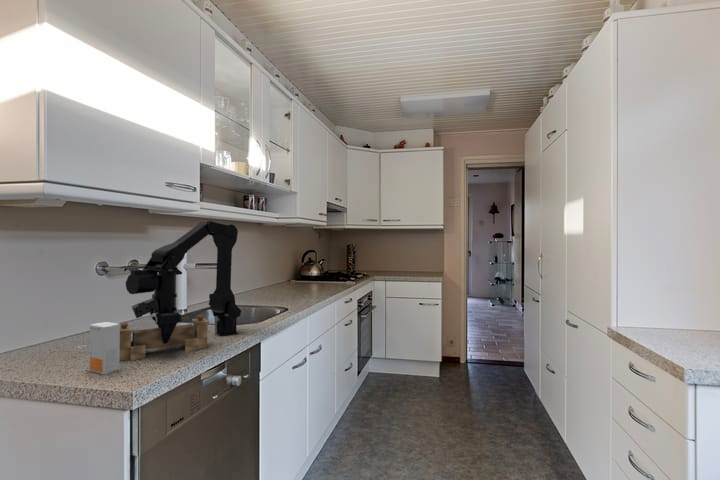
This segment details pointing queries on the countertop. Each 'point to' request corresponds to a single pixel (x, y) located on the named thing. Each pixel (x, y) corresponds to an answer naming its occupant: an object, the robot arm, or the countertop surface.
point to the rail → (154, 336)
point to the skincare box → (104, 347)
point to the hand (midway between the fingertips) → (164, 341)
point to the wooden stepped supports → (139, 351)
